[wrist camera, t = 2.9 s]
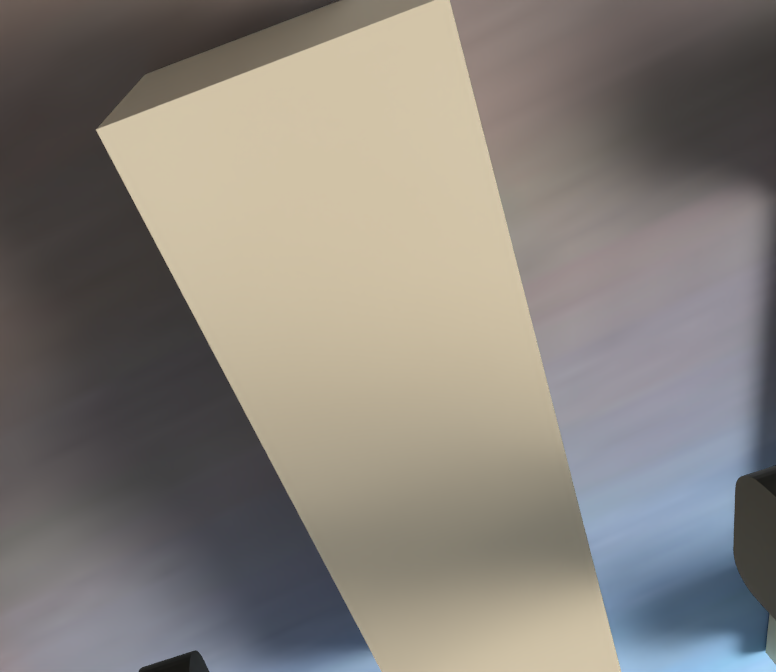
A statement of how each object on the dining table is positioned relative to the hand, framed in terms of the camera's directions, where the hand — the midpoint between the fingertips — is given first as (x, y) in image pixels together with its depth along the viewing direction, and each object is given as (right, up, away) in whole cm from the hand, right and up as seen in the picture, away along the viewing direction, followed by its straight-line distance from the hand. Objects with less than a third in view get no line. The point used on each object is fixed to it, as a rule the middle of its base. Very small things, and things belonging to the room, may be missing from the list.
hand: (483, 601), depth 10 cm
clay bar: (-1, +3, +4) cm, 5 cm away
